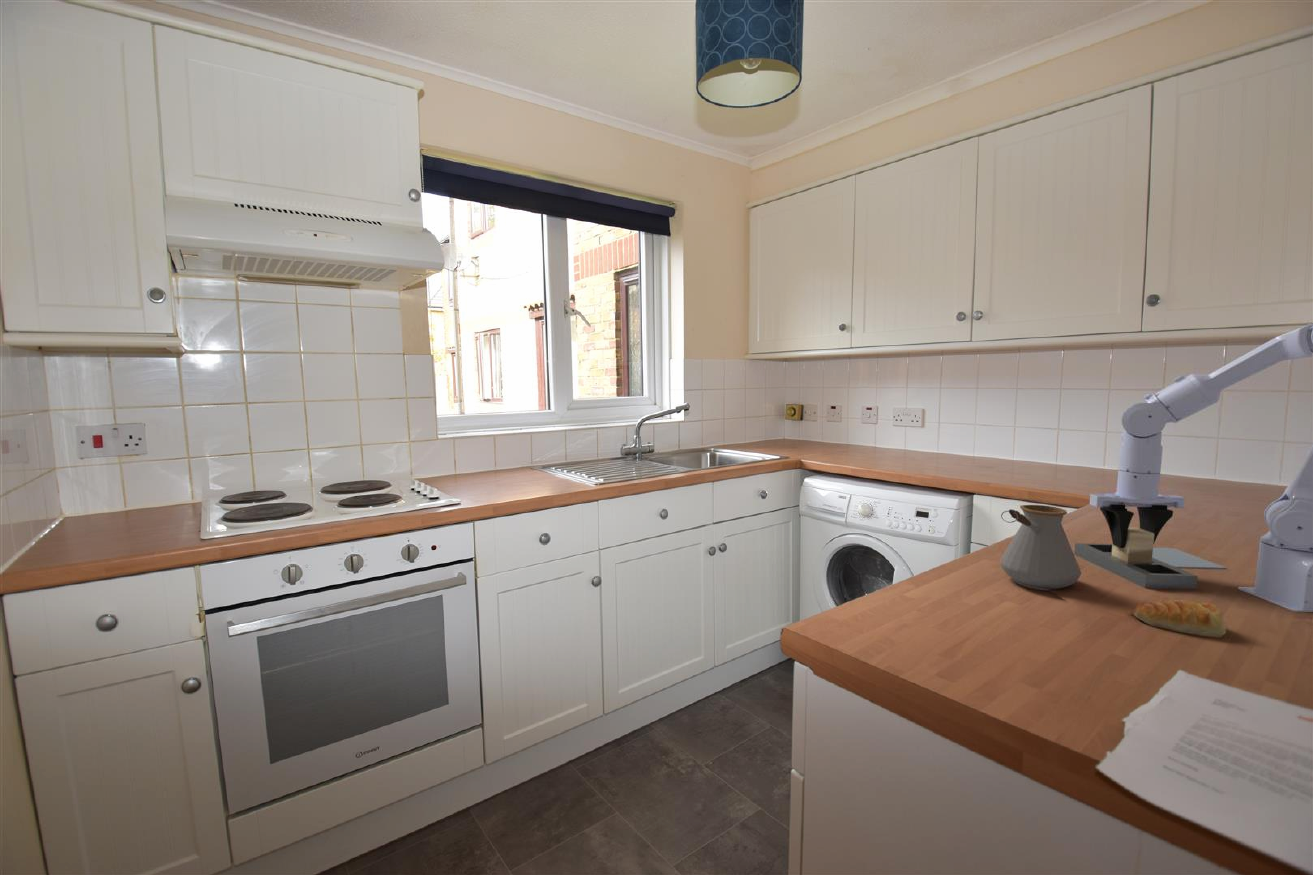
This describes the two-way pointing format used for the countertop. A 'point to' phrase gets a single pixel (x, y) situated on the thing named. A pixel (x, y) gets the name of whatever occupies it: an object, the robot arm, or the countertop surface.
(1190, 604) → the pastry
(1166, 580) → the tray
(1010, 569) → the coffee pot
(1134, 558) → the peg
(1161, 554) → the mat
